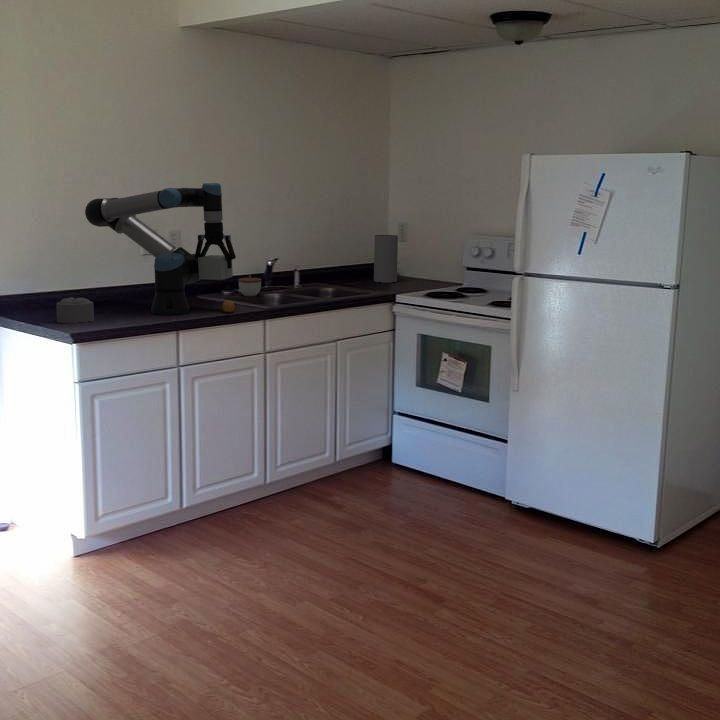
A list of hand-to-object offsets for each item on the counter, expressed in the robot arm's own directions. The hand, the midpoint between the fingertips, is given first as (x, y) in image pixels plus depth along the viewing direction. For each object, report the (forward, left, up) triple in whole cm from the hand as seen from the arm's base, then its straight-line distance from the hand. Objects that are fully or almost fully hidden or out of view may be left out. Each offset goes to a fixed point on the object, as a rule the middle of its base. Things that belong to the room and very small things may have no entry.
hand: (215, 276), depth 371 cm
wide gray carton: (0, 0, -1) cm, 1 cm away
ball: (-2, -9, -12) cm, 15 cm away
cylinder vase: (+137, +13, -14) cm, 139 cm away
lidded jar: (+44, +24, -14) cm, 53 cm away
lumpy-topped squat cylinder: (-57, +17, -14) cm, 61 cm away
